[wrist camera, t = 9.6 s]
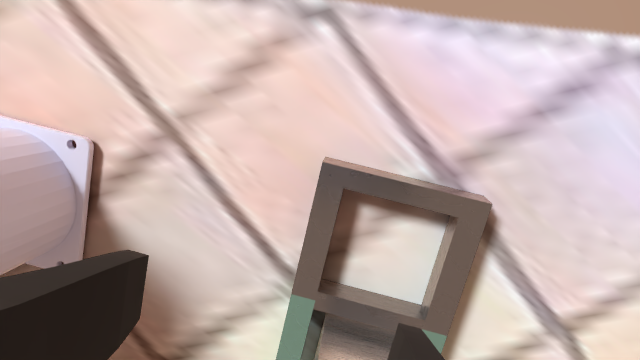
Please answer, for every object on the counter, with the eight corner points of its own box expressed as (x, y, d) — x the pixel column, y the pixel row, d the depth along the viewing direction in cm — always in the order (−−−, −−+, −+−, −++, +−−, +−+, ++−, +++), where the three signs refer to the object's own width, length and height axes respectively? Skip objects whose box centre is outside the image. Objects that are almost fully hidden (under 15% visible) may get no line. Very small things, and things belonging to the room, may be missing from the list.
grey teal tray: (270, 388, 24) (264, 407, 23) (325, 156, 21) (322, 161, 19) (405, 426, 24) (408, 448, 22) (483, 196, 20) (492, 204, 19)
